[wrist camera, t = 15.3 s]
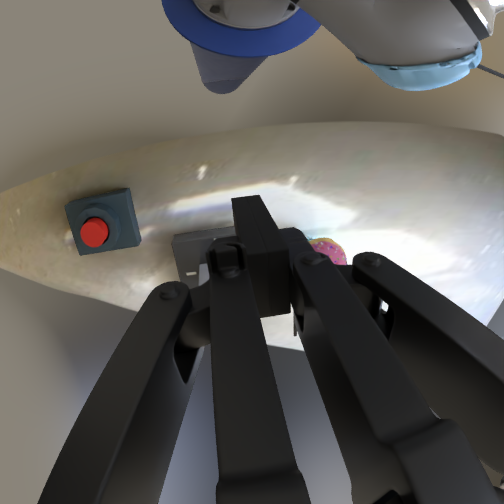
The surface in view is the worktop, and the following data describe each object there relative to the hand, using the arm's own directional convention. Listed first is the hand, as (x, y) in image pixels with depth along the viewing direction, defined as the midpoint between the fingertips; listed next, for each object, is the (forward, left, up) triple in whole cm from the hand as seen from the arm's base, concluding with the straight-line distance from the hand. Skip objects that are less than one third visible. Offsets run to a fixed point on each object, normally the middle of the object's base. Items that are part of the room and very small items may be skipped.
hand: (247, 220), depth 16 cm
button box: (+19, +6, -24) cm, 31 cm away
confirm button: (+19, +6, -21) cm, 29 cm away
